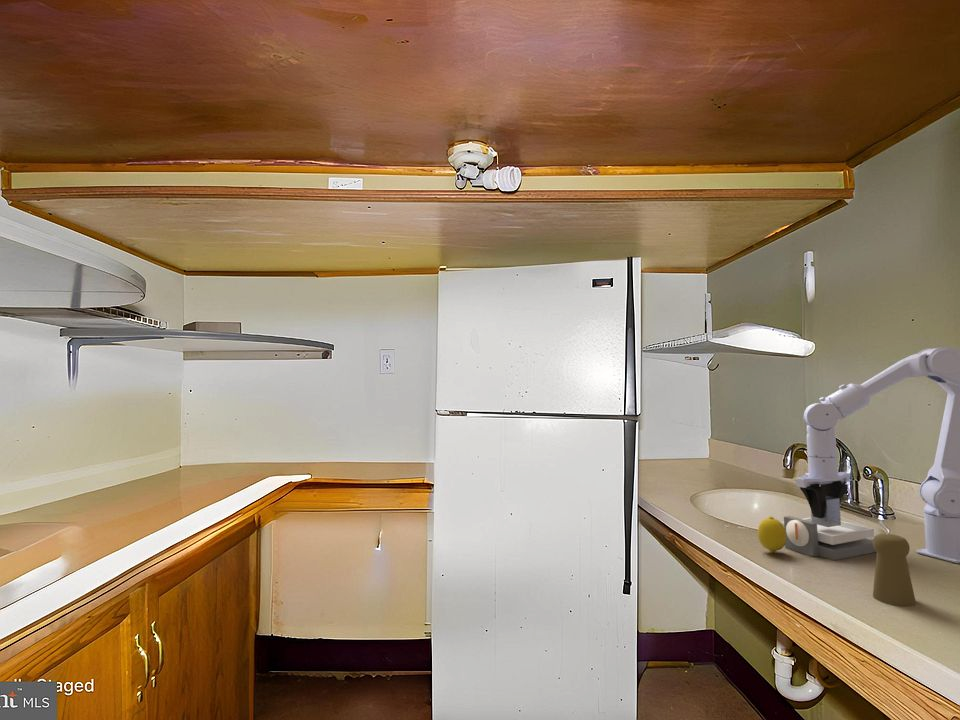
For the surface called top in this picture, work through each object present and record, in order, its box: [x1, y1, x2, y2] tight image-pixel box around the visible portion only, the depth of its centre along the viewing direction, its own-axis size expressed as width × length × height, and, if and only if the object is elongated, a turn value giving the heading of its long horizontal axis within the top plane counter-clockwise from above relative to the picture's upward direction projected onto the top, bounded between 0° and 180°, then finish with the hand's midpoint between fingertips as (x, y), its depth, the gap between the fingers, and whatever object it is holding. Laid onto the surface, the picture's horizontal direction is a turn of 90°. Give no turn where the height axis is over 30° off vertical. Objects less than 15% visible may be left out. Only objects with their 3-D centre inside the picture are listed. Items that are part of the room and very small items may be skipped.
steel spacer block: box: [810, 496, 842, 527], centre depth 125 cm, size 4×4×6 cm
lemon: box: [757, 516, 786, 554], centre depth 122 cm, size 6×6×8 cm
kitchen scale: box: [780, 515, 877, 561], centre depth 125 cm, size 16×14×7 cm
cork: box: [872, 533, 917, 607], centre depth 96 cm, size 6×6×11 cm
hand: (825, 516), depth 125 cm, fingers closed on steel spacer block, 4 cm apart
